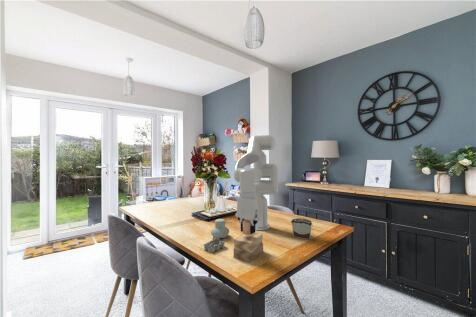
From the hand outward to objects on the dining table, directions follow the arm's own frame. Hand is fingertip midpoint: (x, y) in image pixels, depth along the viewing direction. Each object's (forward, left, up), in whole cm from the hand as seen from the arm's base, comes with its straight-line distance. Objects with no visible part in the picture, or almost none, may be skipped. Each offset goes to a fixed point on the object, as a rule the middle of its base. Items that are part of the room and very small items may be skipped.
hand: (247, 231), depth 109 cm
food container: (+13, +38, -12) cm, 42 cm away
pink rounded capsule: (0, 0, -1) cm, 1 cm away
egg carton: (-19, -4, -12) cm, 23 cm away
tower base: (0, 0, -12) cm, 12 cm away
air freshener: (-27, +10, -12) cm, 31 cm away
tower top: (0, 0, -7) cm, 7 cm away
